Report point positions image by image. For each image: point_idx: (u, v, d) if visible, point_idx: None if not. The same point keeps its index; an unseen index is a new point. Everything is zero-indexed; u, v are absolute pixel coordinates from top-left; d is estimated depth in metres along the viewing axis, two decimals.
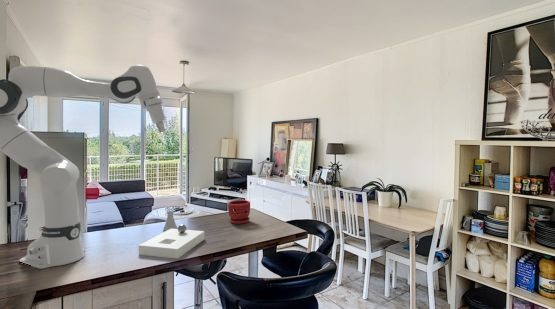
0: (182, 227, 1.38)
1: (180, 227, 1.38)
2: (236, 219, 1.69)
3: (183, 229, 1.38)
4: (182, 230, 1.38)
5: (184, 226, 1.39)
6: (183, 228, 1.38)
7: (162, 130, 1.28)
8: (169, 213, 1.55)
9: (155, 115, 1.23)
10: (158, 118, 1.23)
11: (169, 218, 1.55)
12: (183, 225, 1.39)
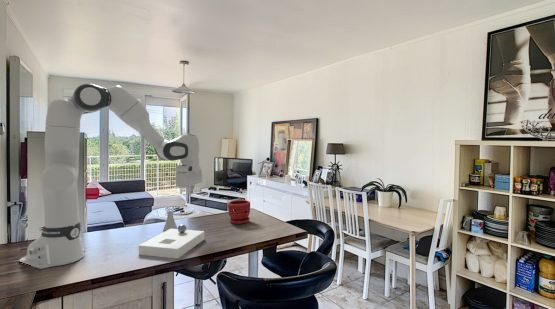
0: (182, 227, 1.38)
1: (180, 227, 1.38)
2: (236, 219, 1.69)
3: (183, 229, 1.38)
4: (182, 230, 1.38)
5: (184, 226, 1.39)
6: (183, 228, 1.38)
7: (188, 193, 1.46)
8: (169, 213, 1.55)
9: (177, 182, 1.37)
10: (177, 185, 1.37)
11: (169, 218, 1.55)
12: (183, 225, 1.39)
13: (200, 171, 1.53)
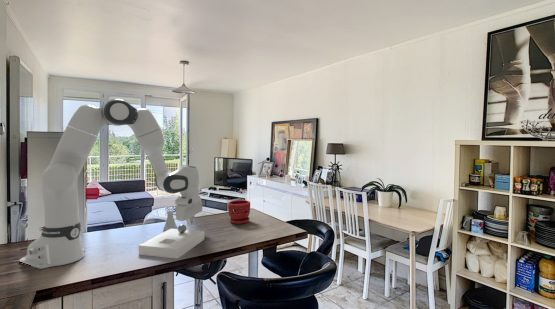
0: (182, 227, 1.38)
1: (180, 227, 1.38)
2: (236, 219, 1.69)
3: (183, 229, 1.38)
4: (182, 230, 1.38)
5: (184, 226, 1.39)
6: (183, 228, 1.38)
7: (188, 224, 1.46)
8: (169, 213, 1.55)
9: (176, 215, 1.37)
10: (177, 218, 1.37)
11: (169, 218, 1.55)
12: (183, 225, 1.39)
13: (200, 201, 1.54)
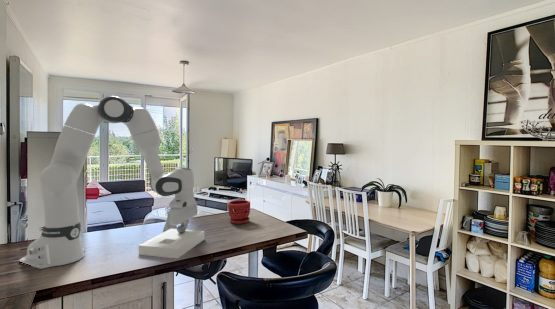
0: (181, 229, 1.38)
1: (179, 229, 1.37)
2: (236, 219, 1.69)
3: (182, 230, 1.38)
4: (182, 231, 1.38)
5: (183, 227, 1.38)
6: (182, 229, 1.38)
7: None
8: (169, 213, 1.55)
9: (170, 219, 1.33)
10: (171, 222, 1.33)
11: (169, 218, 1.55)
12: (182, 226, 1.38)
13: (195, 204, 1.49)
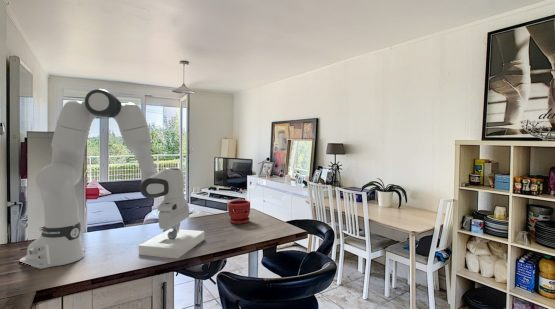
0: None
1: None
2: (236, 219, 1.69)
3: (176, 232, 1.31)
4: (175, 231, 1.31)
5: (176, 234, 1.32)
6: (176, 232, 1.32)
7: None
8: None
9: (160, 223, 1.24)
10: (161, 227, 1.24)
11: None
12: None
13: (186, 206, 1.40)
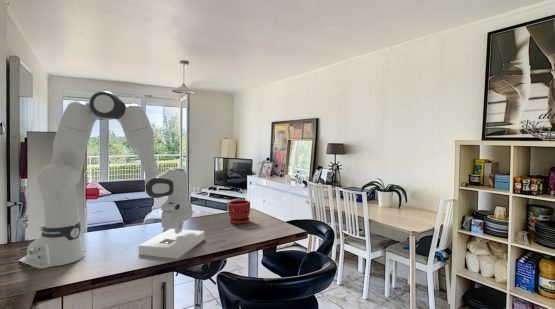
0: None
1: None
2: (236, 219, 1.69)
3: None
4: None
5: None
6: None
7: (176, 232, 1.35)
8: None
9: (162, 222, 1.26)
10: (163, 226, 1.26)
11: None
12: None
13: (190, 206, 1.42)
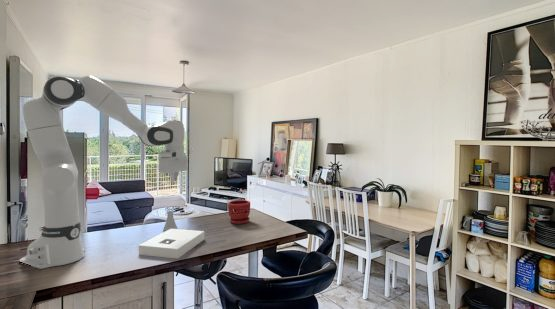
0: None
1: None
2: (236, 219, 1.69)
3: None
4: None
5: None
6: None
7: (171, 180, 1.44)
8: (169, 213, 1.55)
9: (159, 167, 1.35)
10: (160, 170, 1.35)
11: (169, 218, 1.55)
12: None
13: (185, 159, 1.51)
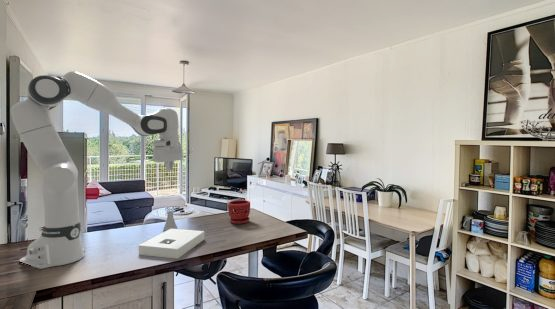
0: None
1: None
2: (236, 219, 1.69)
3: None
4: None
5: None
6: None
7: (167, 169, 1.43)
8: (169, 213, 1.55)
9: (154, 156, 1.34)
10: (155, 159, 1.34)
11: (169, 218, 1.55)
12: None
13: (180, 148, 1.51)
